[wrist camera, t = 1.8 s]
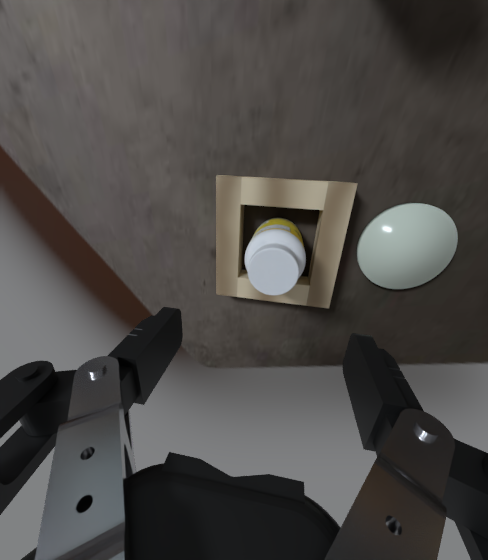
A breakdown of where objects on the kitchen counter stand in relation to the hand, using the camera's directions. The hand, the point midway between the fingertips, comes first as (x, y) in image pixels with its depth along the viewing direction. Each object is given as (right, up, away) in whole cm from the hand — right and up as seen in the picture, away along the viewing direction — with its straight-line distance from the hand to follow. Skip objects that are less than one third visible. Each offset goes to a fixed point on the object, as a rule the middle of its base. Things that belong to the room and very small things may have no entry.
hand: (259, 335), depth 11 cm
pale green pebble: (+16, +6, +14) cm, 22 cm away
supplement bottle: (+3, +7, +16) cm, 18 cm away
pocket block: (+3, +7, +16) cm, 18 cm away
